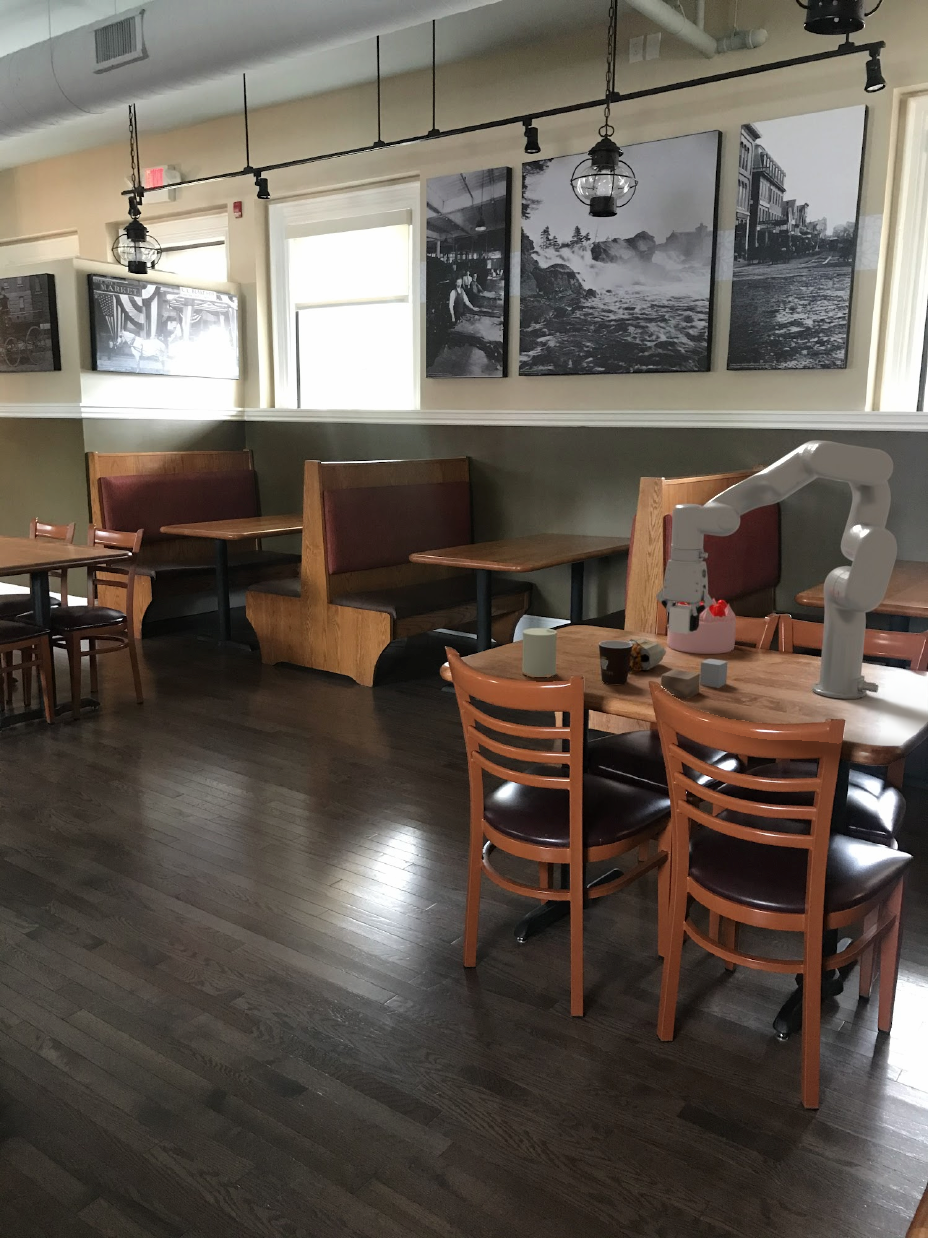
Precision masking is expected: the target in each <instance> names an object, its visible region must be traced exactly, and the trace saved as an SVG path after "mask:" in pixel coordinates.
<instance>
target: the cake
mask: <svg viewBox="0 0 928 1238" xmlns="http://www.w3.org/2000/svg"><path fill="white" fill-rule="evenodd" d="M712 600H713V604H712V605H711V606H709V607H708V608H706V609H705V610H704V611H703V612H702V613H701V614H700V615H699V627H698V628H697V630H696V631H694V632H692V633H689V634H683V633H676V632H670V631H669V628H668V627H667V637H666V638H667V641H666V642H667V643H666V645H667V646H668V647H669V648H670V649H671V650H675V651H679V652H682V653H688V654H699V655H717V654H718V655H719V654H724V653H725V654H727V653H730V652H732V651H733V650H734V648H735V643H736V624H737V619H736V614H735V612H734V611H733V610H732V608H731V606H730V603H727V602H726V600H724V599H719V600H718V601H717V600H716V599H715V598H714V597H713V598H712ZM704 603H705V601H700V606H701V605H702V604H704ZM679 604H680V605H687V606H691V605H690V603H685V602H677V605H679ZM731 650H732V651H731Z"/></svg>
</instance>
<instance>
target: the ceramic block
mask: <svg viewBox="0 0 928 1238" xmlns="http://www.w3.org/2000/svg"><path fill="white" fill-rule="evenodd" d="M691 615H692V609H691V606H687V605H680V604H679V605H675V606H672V607H670V612H669V631H670V632H676V633H683V634H689V633H692V632H691V631H690V616H691ZM693 632H694V631H693Z"/></svg>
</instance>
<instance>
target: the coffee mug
mask: <svg viewBox="0 0 928 1238" xmlns="http://www.w3.org/2000/svg"><path fill="white" fill-rule="evenodd" d="M632 646H633V644H631V643H629V642H626V640H625V641H624V640H602V641H600V642H598V650H599V663H600V673H601V674H600V675H601V682H602V681H603V682H604V683H603V682H602V683H603V684H605V683H608V684H607V685H609V684H623V685H626V684H627V683H628V677H629V673H630V672H631V671H632V670H633V669H635V668H634V667H635V665H636V659H635V657H634V655H633V654H631V652H632ZM631 657H632V658H633V666H632V667H631V665H630V659H631ZM625 683H626V684H625Z"/></svg>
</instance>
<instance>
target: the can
mask: <svg viewBox="0 0 928 1238" xmlns="http://www.w3.org/2000/svg"><path fill="white" fill-rule="evenodd" d="M557 631H558V630H555V629H551V628H548V627H547V628H546V627H531V628H526V629H523V631H522V670H521V672H522V671H523V672H524V673H527V674H529V675H534V676H547V675H555V674H556V675H557V666H556V665H557V641H558V640H557V635H558V632H557ZM556 675H555V676H556Z"/></svg>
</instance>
